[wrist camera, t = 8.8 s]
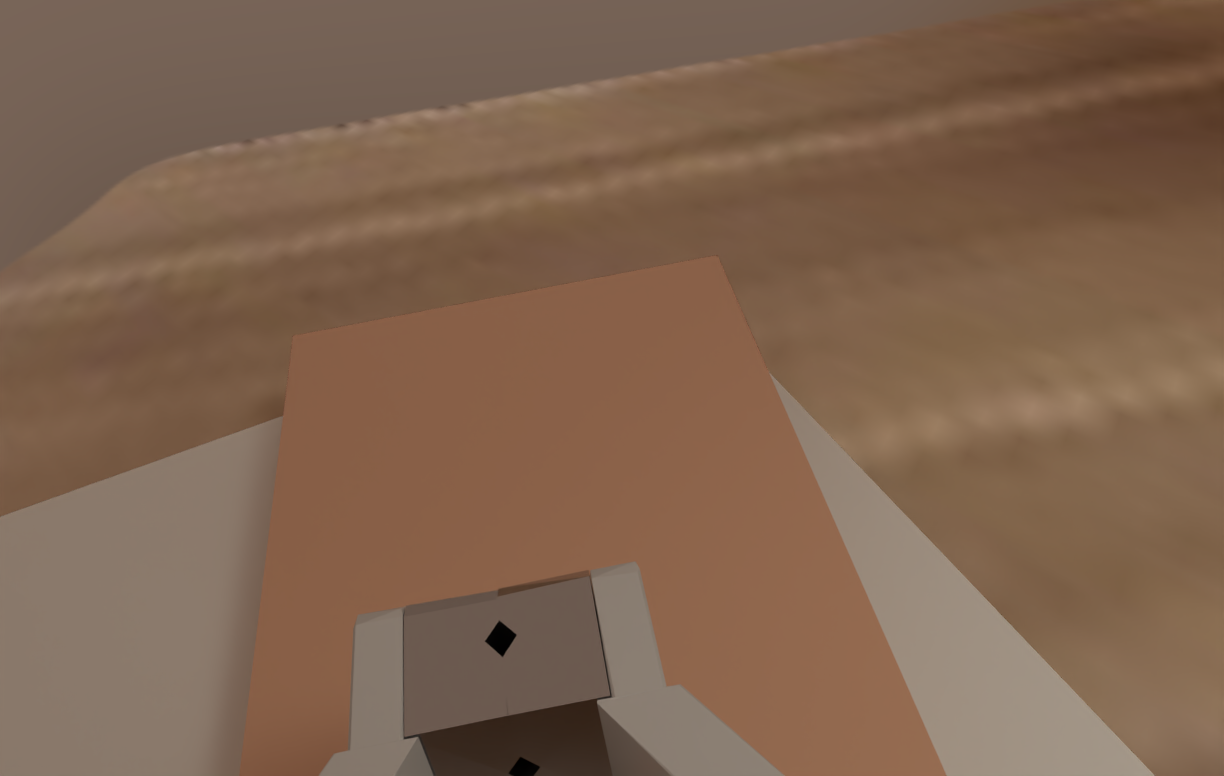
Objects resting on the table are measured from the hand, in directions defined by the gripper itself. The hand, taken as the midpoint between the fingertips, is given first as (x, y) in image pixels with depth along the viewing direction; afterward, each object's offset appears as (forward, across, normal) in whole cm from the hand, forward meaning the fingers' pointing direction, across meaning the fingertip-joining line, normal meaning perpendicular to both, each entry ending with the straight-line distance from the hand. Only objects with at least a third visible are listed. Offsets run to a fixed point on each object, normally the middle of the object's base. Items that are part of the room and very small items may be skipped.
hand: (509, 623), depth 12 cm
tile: (0, 0, +6) cm, 6 cm away
